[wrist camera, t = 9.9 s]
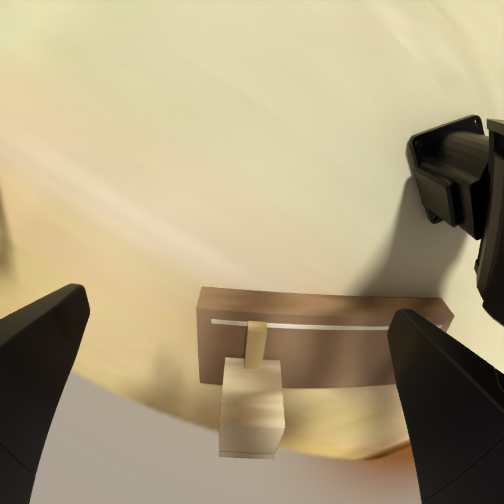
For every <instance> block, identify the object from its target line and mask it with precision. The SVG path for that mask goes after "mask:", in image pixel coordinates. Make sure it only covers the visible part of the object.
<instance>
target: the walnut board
mask: <svg viewBox="0 0 504 504" xmlns="http://www.w3.org/2000/svg"><path fill="white" fill-rule="evenodd" d="M399 308H410V309H412V310H413V311H415V312H416V313H418V314H419V315H421V316H422V317H424V318H425V319H427V320H428V321H430V322H431V323H433V324H434V325H435V326H437V327H438V328H440V329H441V330H443V331H444V332H446V331H447V330H448V328H449V326H450V324H451V322H452V320H453V318H454V315H453V313H452V312H451V310H450V309H449V308H448V306H447V305H446V304H445V302H444V301H443V300H442V298H391V297H360V296H336V295H315V294H297V293H280V292H264V291H250V290H236V289H223V288H211V287H202V288H201V292H200V296H199V300H198V304H197V335H198V357H199V374H200V383H208V384H219V385H223V377H224V367H225V357H228V358H242V359H245V350H246V340H247V329H248V321H259V322H267V336H266V342H265V349H264V355H263V360H280V366H281V379H282V388H341V387H361V386H376V385H388V384H396V382H395V377H394V372H393V366H392V360H391V355H390V349H389V344H388V339H387V332H388V328H389V326H390V324H391V321H392V319H393V316H394V314H395V312H396V310H397V309H399Z"/></svg>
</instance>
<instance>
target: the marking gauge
mask: <svg viewBox="0 0 504 504" xmlns="http://www.w3.org/2000/svg"><path fill="white" fill-rule="evenodd" d="M266 336H267V322H259V321H248V329H247V340H246V350H245V359H242V358H228V357H225V367H224V377H223V387H222V397H221V408H220V419H219V456H220V457H233V458H252V459H254V458H255V459H274V457H275V454H276V452H277V449H278V446H279V443H280V441H281V438H282V435H283V432H284V429H285V420H284V406H283V392H282V379H281V366H280V360H263V355H264V349H265V342H266Z"/></svg>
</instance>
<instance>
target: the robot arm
mask: <svg viewBox="0 0 504 504" xmlns="http://www.w3.org/2000/svg"><path fill="white" fill-rule="evenodd" d="M475 120H476V124H475V122H474V121H475ZM487 129H489V137H488V136H485V135H484V130H483V126H482V121H481V118H480V117H479V116H477V115H470V116H467V117H464V118H461V119H458V120H455V121H452V122H449V123H446V124H443V125H440V126H438V127H435V128H432V129H429V130H426V131H424V132H421V133H418V134H415V135H413V136H412V137H411V138H410V141H409V143H410V147H411V151H412V154H413V158H414V162H415V165H416V168H415V176H416V180H417V184H418V188H419V192H420V197H421V201H422V204H423V205H425V208H426V213H427V218H428V220H429V221H430V222H431V223H433V224H436V223H439V222H441V221H443V220H444V221H446V222H447V223H448V224H449V225H451V226H452V227H454V228H455V227H457V226H459V227H461V228H462V229H463V230H464V231H466V232H467V233H468V234H469V235H471V236H472V237H473V238H474V239H476V240H479V239H481V243H480V248H479V254H478V259H476V261H475V266H474V269H475V272H476V274H477V288H478V290H479V293H480V295H481V297H482V299H483V300H484V301H483V305H482V306H483V308H484V310H485V311H486V312H487V313H488V314H489V315H490V316H491V317H492V318H493V319H494V320H495V321H496V322H498V323H499V324H500V325H502V326H503V327H504V120H496V119H487ZM417 139H418V140H419V144H418V145H417V146H416V145H415V142H416V140H417ZM435 214H436V216H435V218H433V216H434V215H435ZM89 315H90V307H89V303H88V299H87V295H86V291H85V288H84V286H83V285H80V284H73V283H72V284H68V285H66V286H64V287H62V288H60V289H58V290H56V291H54V292H52V293H50V294H48V295H46V296H44V297H42V298H40V299H38V300H36V301H35V302H33V303H31V304H29V305H27V306H25V307H23V308H21V309H19V310H17V311H15V312H13V313H11V314H10V315H8V316H6V317H4V318H2V319H0V504H29V502H30V497H31V493H32V489H33V485H34V481H35V475H36V472H37V468H38V465H39V461H40V457H41V454H42V450H43V447H44V444H45V441H46V438H47V434H48V431H49V428H50V425H51V422H52V419H53V416H54V414H55V411H56V408H57V405H58V402H59V399H60V397H61V394H62V392H63V389H64V386H65V384H66V381H67V379H68V376H69V374H70V371H71V369H72V366H73V364H74V361H75V359H76V356H77V353H78V350H79V346H80V343H81V340H82V337H83V334H84V331H85V328H86V325H87V322H88V319H89ZM387 339H388V344H389V349H390V355H391V360H392V366H393V372H394V377H395V382H396V386H397V389H398V393H399V397H400V401H401V405H402V409H403V413H404V417H405V421H406V425H407V429H408V434H409V438H410V442H411V447H412V452H413V457H414V462H415V466H416V472H417V477H418V483H419V489H420V496H421V501H422V504H504V374H503V373H502V372H500V371H499V370H497V369H495V368H494V367H493V366H492V365H491V364H489V363H488V362H486V361H485V360H484V359H482V358H481V357H480V356H478V355H477V354H475V353H474V352H473V351H471V350H470V349H468V348H467V347H466V346H464V345H463V344H461V343H460V342H458V341H457V340H456V339H454V338H453V337H451V336H450V335H448V334H447V333H446V332H444V331H443V330H441V329H440V328H438V327H437V326H435V325H434V324H433V323H431V322H430V321H428V320H427V319H425V318H424V317H422V316H421V315H419V314H418V313H416V312H415V311H413V310H412V309H410V308H399V309H397V310H396V312H395V314H394V316H393V319H392V321H391V324H390V326H389V328H388V332H387Z"/></svg>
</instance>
